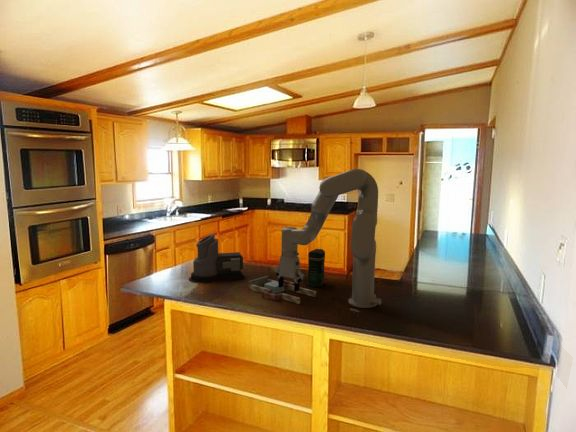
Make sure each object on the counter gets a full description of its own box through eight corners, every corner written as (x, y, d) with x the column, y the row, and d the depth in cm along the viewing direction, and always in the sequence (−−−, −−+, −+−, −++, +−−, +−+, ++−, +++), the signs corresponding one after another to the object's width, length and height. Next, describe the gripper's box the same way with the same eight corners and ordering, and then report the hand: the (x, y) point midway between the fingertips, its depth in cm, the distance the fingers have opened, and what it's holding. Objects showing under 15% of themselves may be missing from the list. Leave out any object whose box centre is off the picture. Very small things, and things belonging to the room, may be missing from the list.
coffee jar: (320, 288, 194) (321, 252, 191) (305, 286, 197) (306, 250, 194) (326, 283, 202) (327, 248, 200) (312, 281, 206) (312, 247, 203)
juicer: (189, 284, 198) (188, 237, 195) (188, 275, 213) (187, 232, 210) (246, 280, 207) (246, 235, 204) (241, 272, 222) (241, 230, 219)
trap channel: (321, 294, 184) (321, 286, 183) (292, 306, 168) (292, 297, 167) (271, 281, 204) (271, 274, 204) (242, 291, 188) (242, 283, 187)
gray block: (284, 291, 189) (284, 283, 189) (274, 295, 184) (275, 287, 183) (273, 288, 193) (273, 280, 193) (264, 291, 188) (264, 284, 188)
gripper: (309, 255, 178) (308, 290, 180) (280, 249, 189) (280, 283, 191) (299, 257, 172) (298, 294, 174) (270, 251, 183) (269, 286, 185)
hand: (288, 288), depth 182 cm, fingers open, 9 cm apart
